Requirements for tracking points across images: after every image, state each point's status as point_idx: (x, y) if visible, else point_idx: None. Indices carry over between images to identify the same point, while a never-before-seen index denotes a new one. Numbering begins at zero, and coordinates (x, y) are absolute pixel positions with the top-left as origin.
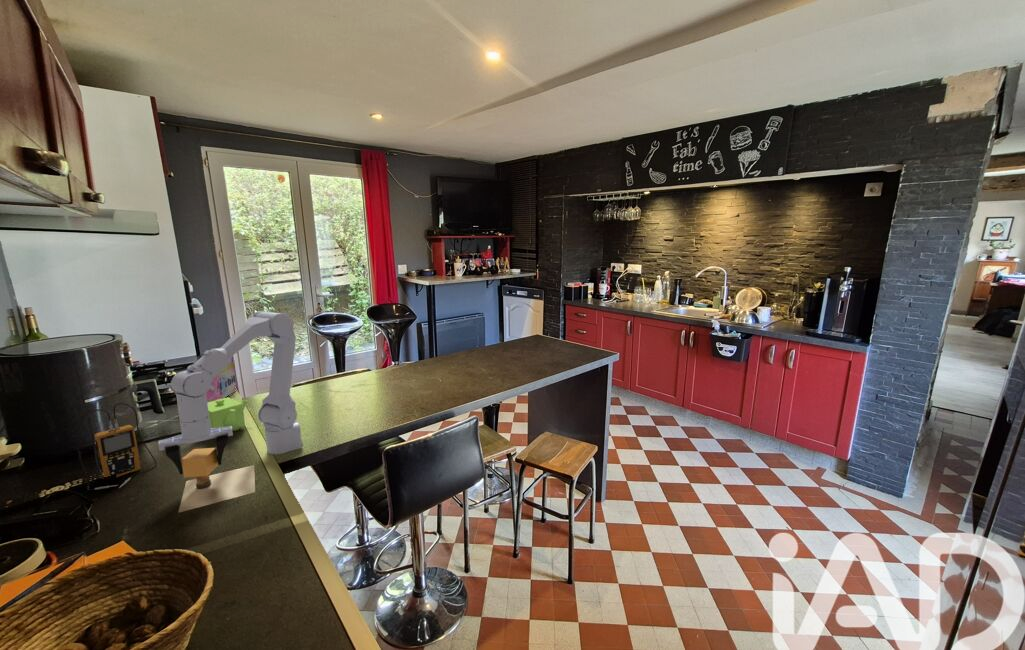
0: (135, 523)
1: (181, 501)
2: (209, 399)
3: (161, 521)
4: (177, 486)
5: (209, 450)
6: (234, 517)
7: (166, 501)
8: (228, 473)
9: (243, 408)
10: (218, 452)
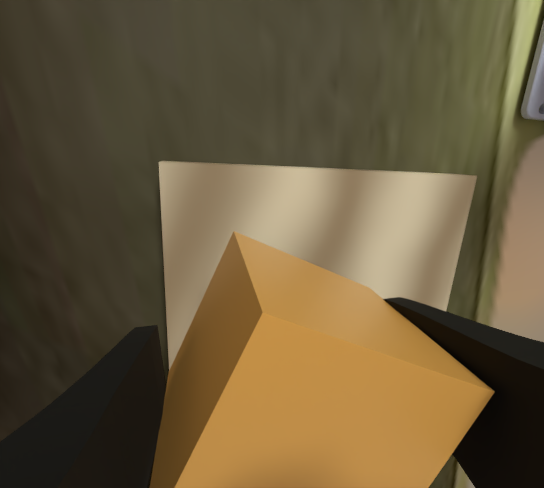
0: (5, 403)
1: None
2: None
3: None
4: (109, 129)
5: (426, 438)
6: None
7: (91, 276)
8: (364, 201)
9: None
10: (475, 473)
